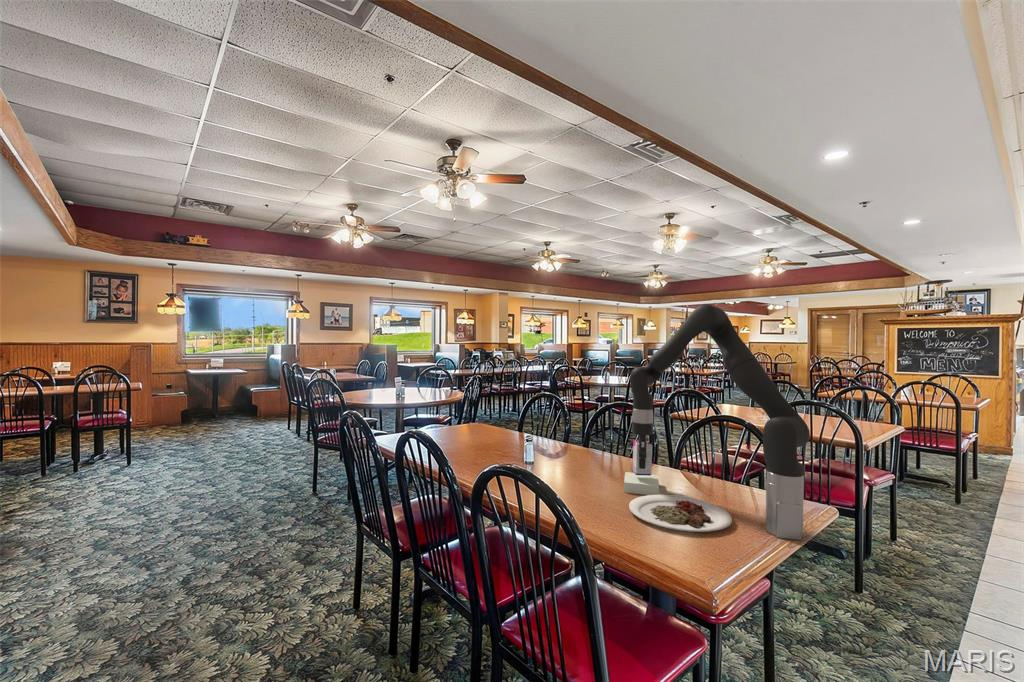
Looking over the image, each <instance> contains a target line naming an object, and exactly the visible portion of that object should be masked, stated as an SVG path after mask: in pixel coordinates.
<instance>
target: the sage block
mask: <svg viewBox="0 0 1024 682" xmlns="http://www.w3.org/2000/svg"><path fill="white" fill-rule="evenodd" d="M624 473H625V474H624V480H623V481H624V482H623V493H627V494H635V495H636V494H637V495H644V496H647V495H660V482H659V476H658V474H652V473H651V476H648V475H635V473H634V472H632V471H631V472H630V471H629V472H628V471H625V472H624Z"/></svg>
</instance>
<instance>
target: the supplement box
mask: <svg viewBox="0 0 1024 682" xmlns="http://www.w3.org/2000/svg"><path fill="white" fill-rule="evenodd" d="M632 445H633V447H632V471H631V472H632V473H635V475H648V476H651V474H652V466H653V465H652V463H653V460H652V459H653V444H652V443H650V442H649V441H648V444H646V445H647V452H646V456H647V457H646V461H645V469H640V468H639V451H638V449H639V443H637V440H633V443H632ZM641 454H644V452H641Z"/></svg>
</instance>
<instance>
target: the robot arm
mask: <svg viewBox="0 0 1024 682" xmlns="http://www.w3.org/2000/svg"><path fill="white" fill-rule="evenodd" d="M703 333H706V334H708V336H709V337H710V338H711V339H712V340H713V341H714V343H715V344H716V345H717V347H718V349H719V350H720V353H721V356H722V361H723V364H724V367H725V369H726V371H727V373H728V375H729V376H730V377H731V379H732V381H733V382H734V384H735V386H736V387H738V389H739V390H740V391H741V392H742V393H743V394H745V395H746V396H747V397H748V398H749V399H750V400H752V402H754V403H755V404H756V405H758V406H759V407H760V408H761V409H762V410H763V412H764V413H765V414H766V416H767V417H768V418H769V419H768V420H767V421H766V422H765V424H764V427H763V431H762V446H763V447H762V449H763V450H762V451H763V459H764V462H765V464H766V465H765V466H766V482H765V483H766V485H765V487H766V489H765V530H766V532H768V533H769V534H771V535H773V536H775V537H776V538H780V539H781V538H782V539H789V540H790V539H791V540H798V541H802V539H803V537H804V498H805V497H804V494H805V493H804V490H805V487H804V486H805V467H804V464H803V463H801V462H800V461H799V460H798V448H801V447H803V446H806V445H807V444H808V443H809V441H810V439H811V437H810V436H811V432H810V429H809V426H808V424H807V423H806V421H805V420H804V419H803V418H802V416H801V415H800V414H799V413H798V412H797V411H796V409H794V407H793V406H792V405H791V403H789V402H788V401H787V399H786V398H785V397H784V396H783V394H782V392H780V390H779V389H778V387H777V386H776V384H775V383H774V381H773V379H771V377H770V376H769V375H768V373H767V372H766V370H765V369H764V367H763V366H762V364H761V363H760V362H759V360H758V358H757V357H756V356H755V355H754V353H753V352H752V351H751V350H750V348H749V347H748V346H747V344H746V343H745V342H744V341H743V340H742V339H741V337H740V335H739V334H738V332H737V331H736V329H735V327H734V325H733V324H732V322H731V319H730V318H729V316H728V315H727V313H726V312H725V310H723V309H722V308H720V307H718V306H715V305H712V304H709V303H704V304H700V305H698V306H697V307H696V308H695V309H693V311H691V313H690V314H689V315H688V316H687V318H686V319H685V320H684V322H683V323H682V324H681V325H680V326H679V328H678V329H677V330H676V331H675V333H674V334H673V335H672V336H670V338H669V340H667V341H666V342H665V343H664V344H663V345H662V346H661V347H660V348H659V349H658V350H656V351H655V352H654V353H653V354H652V355H651V356H650V358H649V360H648V361H649V362H648V363H647V364H646V365H645V366H639V367H635V368H634V369H632V370H631V372H630V376H629V384H630V389H631V393H632V399H633V401H632V413H631V432H632V434H634V435H637V437H636V441H637V443H639V449H638V451H639V468H640V469H645V461H646V457H647V456H646V452H647V445H646V444H648V442H649V439H648V438H646V437H647V436H651V435H653V434H654V410H653V408H654V401H653V400H654V398H653V395H652V393H650V392H649V388H648V386H651V385H653V384H655V383H656V382H657V381H658V380H659V379H660V378H661V376H662V375H663V374H664V372H665V371H666V370H667V369H668V370H669V368H670V367H672V365H674V364H675V363H676V362H677V361H678V360H679V359H680V358H681V356H682V355H683V353H684V351H685V349H686V348H687V347H688V345H689V344H690V343H691V342H692V341H693V340H694V339H695V338H697V336H700V335H701V334H703ZM641 452H644V454H641Z"/></svg>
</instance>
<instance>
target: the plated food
mask: <svg viewBox="0 0 1024 682" xmlns="http://www.w3.org/2000/svg"><path fill="white" fill-rule="evenodd" d="M628 509H629V512H631V513H632V514H633V515H634V516H635V517H637V518H639V519H640V520H643V521H644V522H647V523H649V524H653V525H654V526H658V527H663V528H666V529H671V530H677V531H685V532H695V533H696V532H699V533H700V532H701V533H702V532H704V533H705V532H707V533H708V532H714V531H719V530H720V531H721V530H724V529H726V528H728V527H729V526H730V525H732V521H733V519H732V516H731V514H730V513H729V512H728V511H727V510H725V509H724V508H722V507H721V506H718V505H715V504H714V503H711V502H709V501H706V500H705V501H704V500H702V499H697V498H693V497H688V496H683V495H674V494H673V495H672V494H659V495H642V496H638V497H636V498H634V499H632V500H631V501H629V504H628Z"/></svg>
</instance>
